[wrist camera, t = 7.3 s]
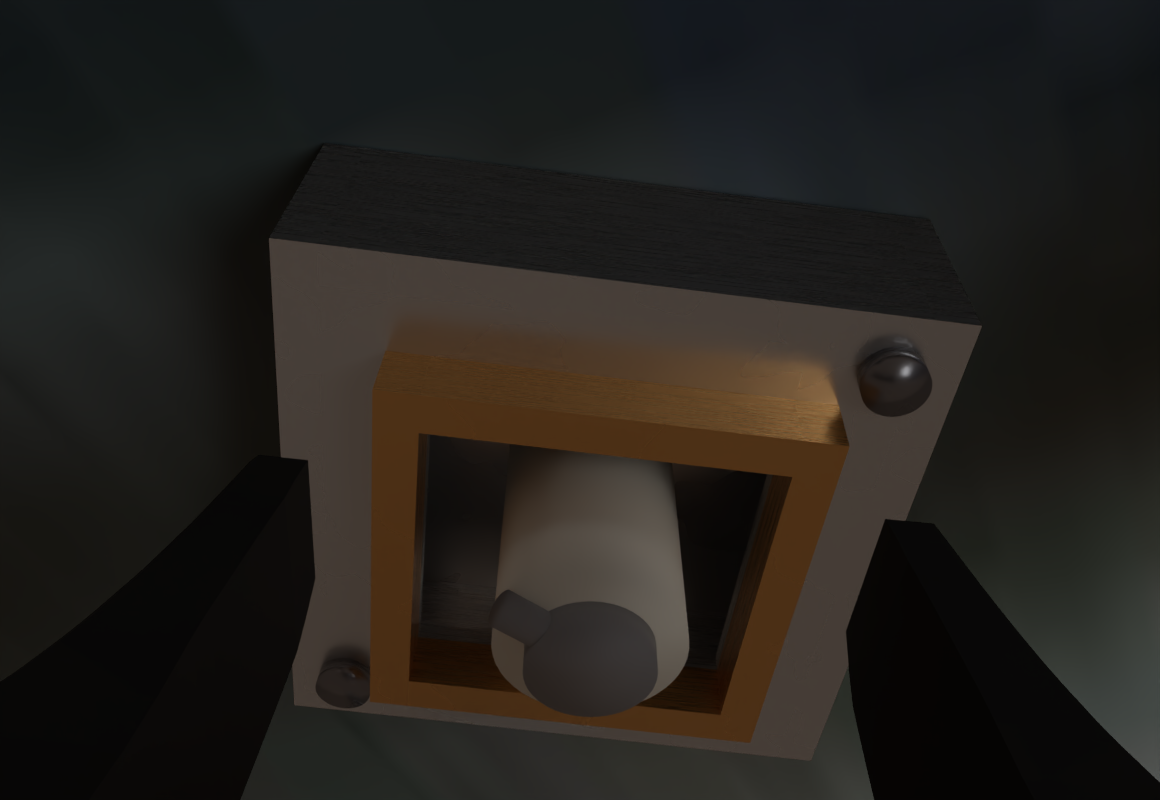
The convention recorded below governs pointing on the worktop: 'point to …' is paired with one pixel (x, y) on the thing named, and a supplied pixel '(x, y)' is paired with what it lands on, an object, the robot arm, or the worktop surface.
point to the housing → (600, 421)
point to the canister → (589, 581)
